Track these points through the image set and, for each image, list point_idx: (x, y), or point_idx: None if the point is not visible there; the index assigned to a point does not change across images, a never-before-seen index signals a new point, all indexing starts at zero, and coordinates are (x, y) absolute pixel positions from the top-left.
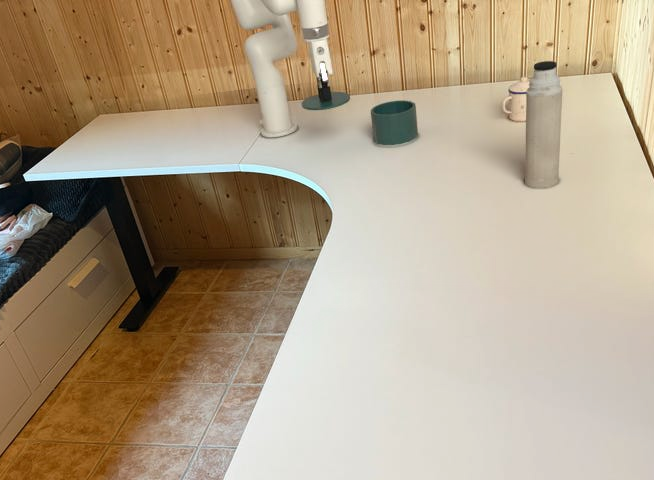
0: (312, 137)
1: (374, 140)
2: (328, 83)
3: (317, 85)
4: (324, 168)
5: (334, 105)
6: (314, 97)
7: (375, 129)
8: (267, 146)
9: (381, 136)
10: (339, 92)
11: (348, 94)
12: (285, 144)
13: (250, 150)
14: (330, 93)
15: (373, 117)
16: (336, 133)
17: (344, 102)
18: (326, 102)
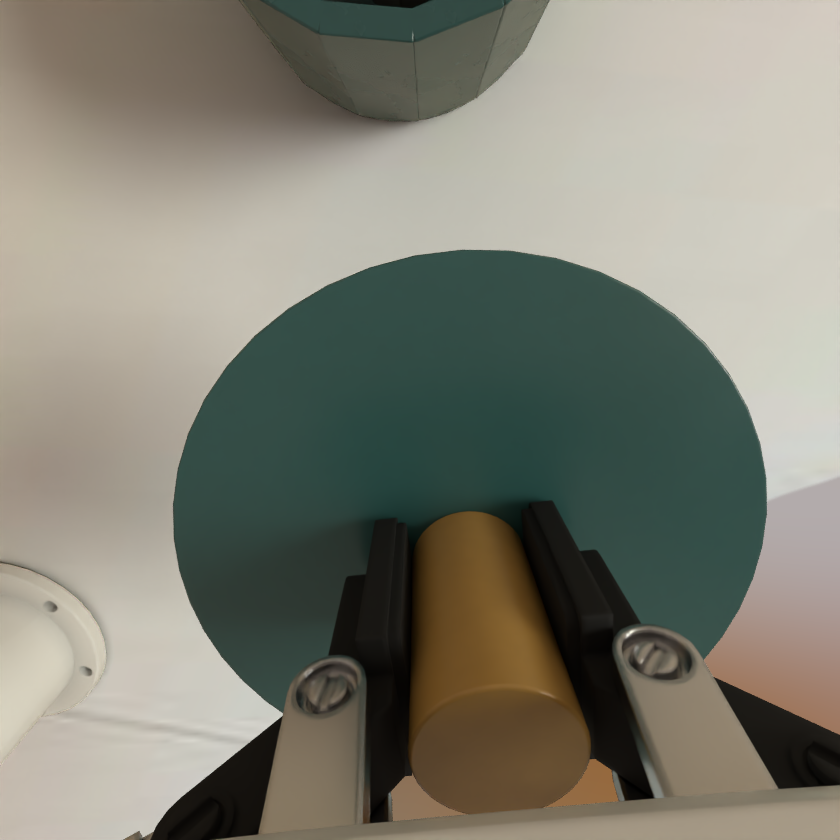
0: (161, 488)
1: (425, 115)
2: (712, 690)
3: (411, 773)
4: None
5: (763, 473)
6: (312, 661)
7: (477, 68)
8: (218, 678)
9: (521, 40)
10: (242, 389)
11: (404, 268)
12: None
13: (243, 735)
14: (577, 550)
15: (473, 33)
16: (136, 358)
17: (706, 345)
18: None
